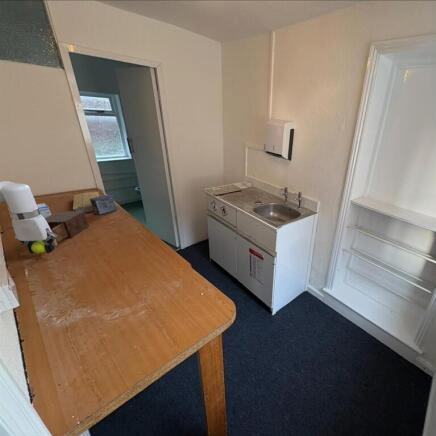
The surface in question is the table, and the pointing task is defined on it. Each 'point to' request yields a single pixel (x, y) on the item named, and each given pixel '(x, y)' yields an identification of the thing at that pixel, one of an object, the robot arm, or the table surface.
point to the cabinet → (70, 221)
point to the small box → (103, 204)
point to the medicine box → (44, 210)
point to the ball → (38, 247)
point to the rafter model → (84, 201)
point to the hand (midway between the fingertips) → (42, 251)
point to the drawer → (58, 232)
